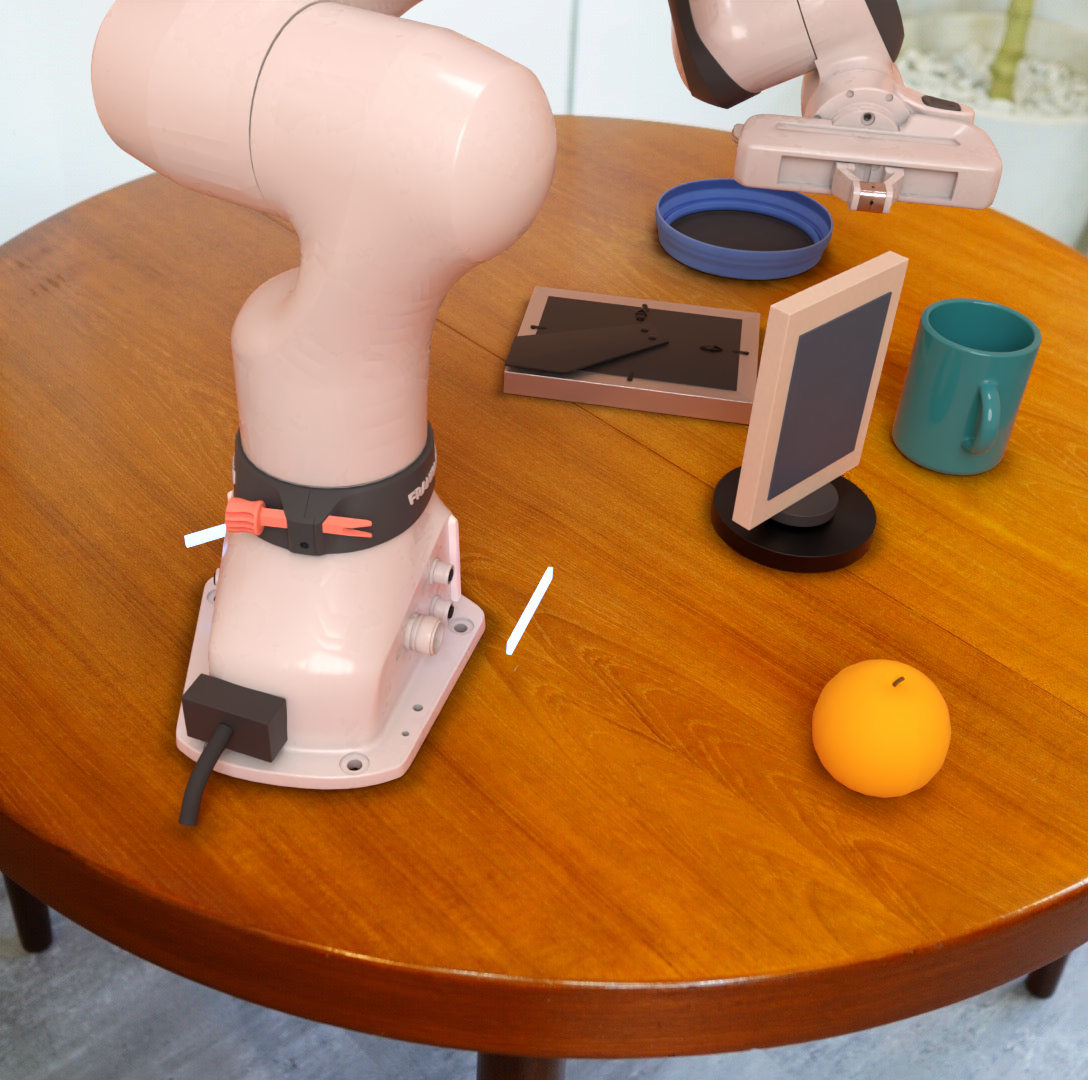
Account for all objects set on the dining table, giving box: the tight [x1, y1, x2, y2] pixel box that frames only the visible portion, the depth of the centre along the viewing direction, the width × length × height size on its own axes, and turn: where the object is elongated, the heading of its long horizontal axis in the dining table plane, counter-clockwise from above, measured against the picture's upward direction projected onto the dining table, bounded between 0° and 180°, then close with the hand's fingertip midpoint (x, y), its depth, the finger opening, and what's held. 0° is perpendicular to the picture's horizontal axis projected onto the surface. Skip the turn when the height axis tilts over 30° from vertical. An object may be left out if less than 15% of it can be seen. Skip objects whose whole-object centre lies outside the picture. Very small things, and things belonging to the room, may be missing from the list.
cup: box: [891, 297, 1043, 476], centre depth 103 cm, size 9×12×11 cm
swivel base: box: [710, 465, 877, 574], centre depth 98 cm, size 12×12×2 cm
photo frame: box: [732, 250, 910, 530], centre depth 92 cm, size 6×13×18 cm, turn 133°
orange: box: [811, 658, 952, 799], centre depth 77 cm, size 8×8×8 cm
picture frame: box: [503, 285, 761, 426], centre depth 115 cm, size 16×3×21 cm
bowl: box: [654, 177, 834, 281], centre depth 134 cm, size 18×18×4 cm
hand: (871, 203), depth 97 cm, fingers closed
